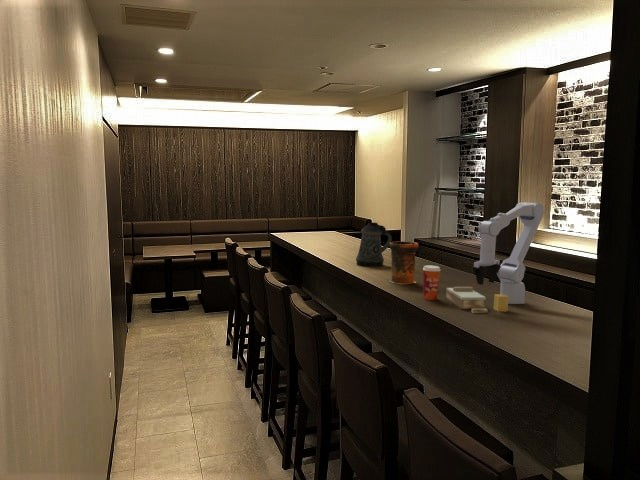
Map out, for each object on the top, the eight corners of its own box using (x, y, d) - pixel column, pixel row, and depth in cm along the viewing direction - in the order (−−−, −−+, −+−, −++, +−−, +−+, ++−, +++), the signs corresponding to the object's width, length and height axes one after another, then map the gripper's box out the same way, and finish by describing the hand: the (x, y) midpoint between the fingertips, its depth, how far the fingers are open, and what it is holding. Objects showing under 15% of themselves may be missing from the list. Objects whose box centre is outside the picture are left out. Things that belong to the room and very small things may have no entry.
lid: (468, 290, 230) (469, 284, 230) (485, 299, 212) (486, 293, 212) (446, 290, 229) (446, 284, 229) (461, 299, 211) (462, 293, 211)
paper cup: (426, 301, 224) (427, 268, 222) (418, 296, 231) (419, 265, 230) (442, 300, 226) (444, 268, 224) (434, 296, 233) (435, 265, 232)
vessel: (404, 286, 253) (405, 244, 251) (382, 281, 264) (383, 242, 262) (423, 282, 262) (424, 242, 261) (401, 278, 273) (402, 240, 271)
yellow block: (502, 308, 213) (503, 294, 213) (507, 311, 209) (508, 296, 209) (493, 308, 213) (494, 294, 212) (497, 311, 209) (498, 296, 208)
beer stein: (351, 263, 318) (352, 221, 315) (378, 261, 326) (380, 221, 323) (364, 267, 303) (366, 224, 300) (393, 265, 311) (394, 223, 308)
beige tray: (468, 298, 230) (468, 290, 230) (492, 313, 206) (492, 304, 206) (446, 298, 229) (446, 290, 229) (467, 313, 205) (467, 304, 205)
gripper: (485, 253, 207) (483, 286, 209) (506, 250, 216) (504, 283, 218) (470, 250, 213) (468, 283, 215) (492, 248, 222) (490, 280, 223)
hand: (485, 283), depth 217 cm, fingers open, 7 cm apart
